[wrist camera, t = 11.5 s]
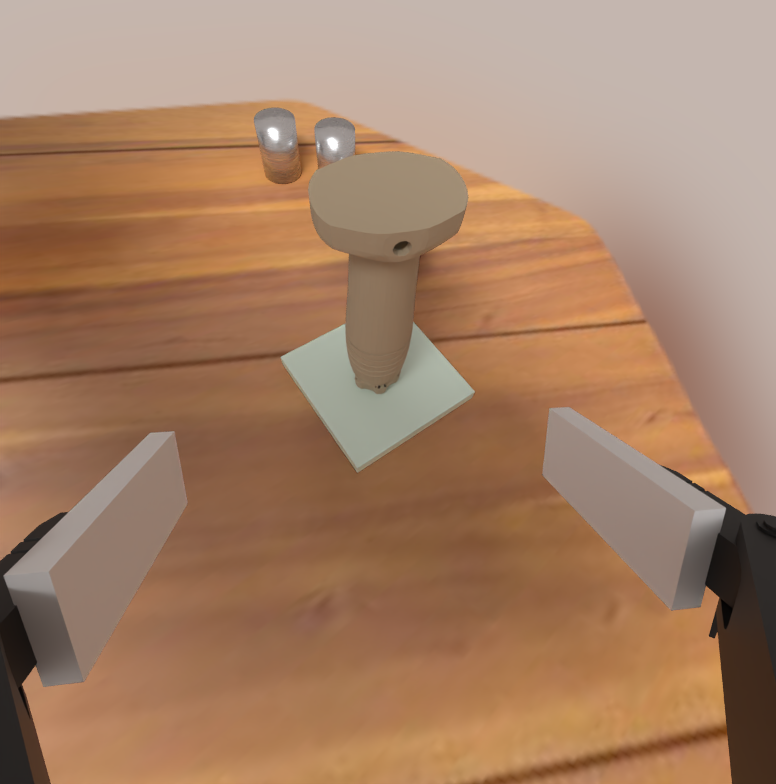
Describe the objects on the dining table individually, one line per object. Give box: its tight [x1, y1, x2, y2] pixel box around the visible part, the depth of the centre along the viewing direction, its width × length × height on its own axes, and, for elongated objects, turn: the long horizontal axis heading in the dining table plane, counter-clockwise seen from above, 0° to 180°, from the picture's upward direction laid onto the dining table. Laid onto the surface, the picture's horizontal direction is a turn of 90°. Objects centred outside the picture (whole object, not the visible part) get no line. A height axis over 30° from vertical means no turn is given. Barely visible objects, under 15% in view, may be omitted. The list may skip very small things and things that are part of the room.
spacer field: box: [254, 108, 421, 256], centre depth 37 cm, size 21×8×5 cm, turn 35°
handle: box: [308, 151, 468, 394], centre depth 24 cm, size 5×6×15 cm
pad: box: [281, 322, 475, 473], centre depth 31 cm, size 10×10×1 cm
